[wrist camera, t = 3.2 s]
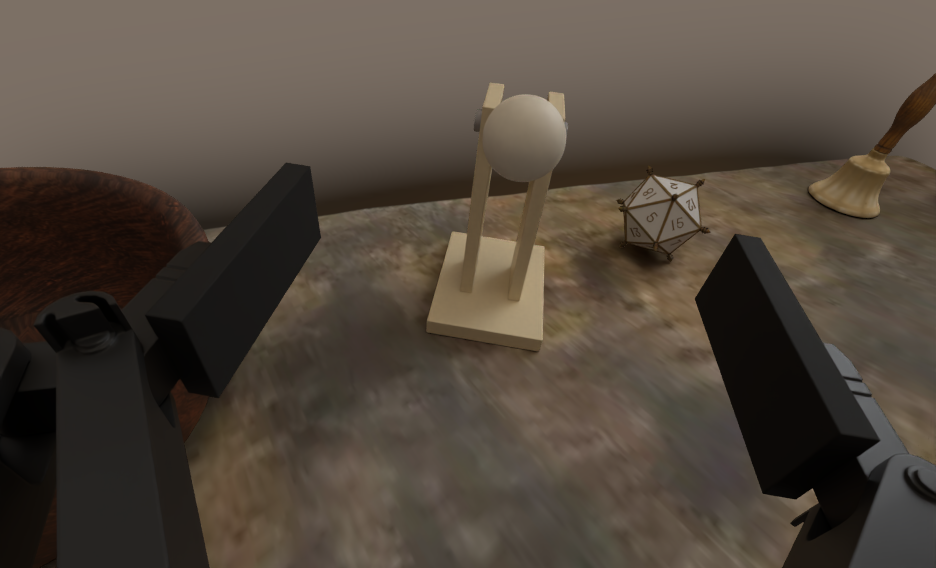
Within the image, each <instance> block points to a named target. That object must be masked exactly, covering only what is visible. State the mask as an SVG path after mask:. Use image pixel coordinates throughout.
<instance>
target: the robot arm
mask: <svg viewBox="0 0 936 568" xmlns="http://www.w3.org/2000/svg"><path fill="white" fill-rule="evenodd" d="M320 238H321V235H320V229H319V222H318V215H317V209H316V203H315V196H314V189H313V182H312V176H311V169H310V166H304V165H298V164H291V163H285V164H284V165H283V167H282V168H281V169H280V170H279V171H278V172H277V173H276V174H275V175H274V176H273V177H272V178H271V179H270V180H269V182H268V183H267V184H266V185H265V186H264V187H263V188H262V189H261V190H260V191H259V192H258V194H256V196H255V197H254V198H253V199H252V200H251V201H250V202H249V203H248V204H247V205H246V206H245V207H244V208H243V210H242V211H241V212H240V213H239V214H238V215H237V216H236V217H235V218H234V219H233V220H232V221H231V223H230V224H229V225H228V226H227V227H226V228H225V229H224V230H223V231H222V232H221V233H220V234H219V235H218V236H217V237H216V239H215V240H214V241H213V242H212V243H210V242H203V241H197V242H195V243H194V244H192V245H190V246H188V247H186V248H185V249H183V250H181V251H179V252H178V253H177V254H176V255H175V256H174V257H173V258H172V259H171V260H170V261H169V262H168V263H167V264H166V265H167V266H166V267H163V268H162V269H161V270H160V271H159V272H158V273H157V274H156V277H155V278H152V279H151V280H150V281H149V282H148V283H147V284H146V285H145V286H144V287H143V288H142V289H141V290H140V291H139V292H138V294H137V295H136V296H135V297H134V298H133V299H132V300H131V301H130V302H129V303H128V304H127V305H126V306H125V307H124V308H123V309H122V310H121V309H120V307H119V306H118V304H117V302H116V301H115V299H114V297H113V296H112V295H110V294H107V293H105V292H102V291H85V292H78V293H74V294H71V295H68V296H65V297H63V298H60V299H58V300H56V301H55V302H53V303H51V304H50V305H48V306H46V307H45V308H44V309H43V310H42V311H41V312H40V313H39V314H38V315H37V317H36V320H35V323H34V325H33V326H34V327H35V328H36V329H37V331H38V332H39V333H40V334H41V335H42V337H43V338H44V339H45V340H46V341H41V342H30V343H22V342H21V341H20V340H19V339H18V337H17V336H16V335H15V334H14V333H13V332H12V331H11V330H7V329H4V328H0V568H32V567H33V563H34V560H35V557H36V554H37V550H38V547H39V544H40V540H41V537H42V534H43V530H44V527H45V524H46V521H47V517H48V514H49V511H50V507H51V504H52V501H53V497H54V494H55V491H56V489H57V568H210V567H209V562H208V557H207V553H206V548H205V543H204V538H203V533H202V528H201V524H200V519H199V514H198V509H197V504H196V499H195V494H194V490H193V485H192V480H191V475H190V470H189V465H188V461H187V456H186V451H185V446H184V441H183V436H182V432H181V427H180V422H179V417H178V412H177V407H176V402H175V398H174V397H173V395H172V393H171V390H172V389H173V388H174V386H175V385H176V384H177V382H178V381H179V380H180V379H181V381H182V382H183V384H184V386H185V388H186V390H187V391H188V393H193V394H199V395H205V396H210V397H216V398H219V397H220V395H221V394H222V392H223V390H224V389H225V387H226V386H227V384H228V383H229V381H230V379H231V378H232V376H233V375H234V373H235V372H236V370H237V368H238V367H239V365H240V364H241V362H242V361H243V359H244V357H245V356H246V354H247V353H248V351H249V350H250V348H251V347H252V345H253V343H254V342H255V340H256V339H257V337H258V336H259V334H260V332H261V331H262V329H263V328H264V326H265V325H266V323H267V321H268V320H269V318H270V317H271V315H272V314H273V312H274V310H275V309H276V307H277V306H278V304H279V303H280V301H281V299H282V298H283V296H284V295H285V293H286V292H287V290H288V288H289V287H290V285H291V284H292V282H293V281H294V279H295V277H296V276H297V274H298V273H299V271H300V270H301V268H302V266H303V265H304V263H305V262H306V260H307V259H308V257H309V255H310V254H311V252H312V251H313V249H314V248H315V246H316V245H317V243H318V241H319V240H320ZM695 301H696V304H697V307H698V310H699V312H700V315H701V318H702V321H703V324H704V327H705V330H706V332H707V335H708V338H709V341H710V344H711V347H712V350H713V352H714V355H715V358H716V361H717V364H718V367H719V370H720V373H721V375H722V378H723V381H724V384H725V387H726V390H727V393H728V395H729V398H730V401H731V404H732V407H733V410H734V413H735V415H736V418H737V421H738V424H739V427H740V430H741V433H742V435H743V438H744V441H745V444H746V447H747V450H748V453H749V455H750V458H751V461H752V464H753V467H754V470H755V473H756V475H757V478H758V481H759V484H760V487H761V490H762V493H763V494H768V495H773V496H779V497H785V498H790V499H797V498H799V497H800V496H802V495H803V494H805V493H806V492H807V491H809V490H810V489H812V488H813V490H814V492H815V495H816V497H817V499H818V501H819V503H818V504H816V505H815V506H813V507H812V508H810V509H809V510H807V511H806V512H804V513H802V514H801V515H799V516H798V517H796V518H795V519H794V520H793V521H792V522H791V523H790V524H792V525H793V526H794V527H796V526H797V525H799V524H801V523H802V522H804V524H803V526H802V528H801V530H800V532H799V534H798V536H797V538H796V540H795V542H794V544H793V546H792V548H791V551H790V553H789V555H788V557H787V559H786V561H785V563H784V565H783V567H782V568H936V466H935V465H934V464H932V463H930V462H928V461H926V460H924V459H922V458H920V457H918V456H914V455H911V454H909V453H908V451H907V449H906V448H905V446H904V445H903V443H902V441H901V440H900V438H899V437H898V435H897V434H896V432H895V430H894V429H893V427H892V426H891V424H890V422H889V421H888V419H887V418H886V416H885V414H884V413H883V411H882V410H881V408H880V406H879V405H878V403H877V402H876V400H875V399H874V398H872V397H871V395H872V394H871V392H870V391H869V389H868V387H867V386H866V384H865V383H862V380H863V379H862V378H861V376H860V375H859V373H858V372H857V370H856V368H855V367H854V365H853V364H852V362H851V361H850V360H849V359H848V358H847V357H846V356H845V355H844V354H843V353H842V352H841V351H840V350H839V349H837V348H836V347H835V346H834V345H833V344H828V343H823V342H822V341H821V339H820V337H819V336H818V334H817V332H816V331H815V329H814V327H813V326H812V324H811V322H810V320H809V319H808V317H807V315H806V314H805V312H804V310H803V309H802V307H801V305H800V304H799V302H798V300H797V299H796V297H795V295H794V293H793V292H792V290H791V288H790V287H789V285H788V283H787V282H786V280H785V278H784V277H783V275H782V273H781V272H780V270H779V268H778V267H777V265H776V263H775V261H774V260H773V258H772V256H771V255H770V253H769V251H768V250H767V248H766V246H765V245H764V243H763V241H762V240H761V238H758V237H751V236H745V235H739V234H735V235H734V236H733V238H732V240H731V241H730V243H729V244H728V246H727V248H726V249H725V251H724V252H723V254H722V256H721V257H720V259H719V261H718V262H717V264H716V265H715V267H714V269H713V270H712V272H711V273H710V275H709V277H708V278H707V280H706V281H705V283H704V285H703V286H702V288H701V290H700V291H699V293H698V294H697V296H696V298H695Z"/></svg>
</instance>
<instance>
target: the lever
mask: <svg viewBox="0 0 936 568" xmlns="http://www.w3.org/2000/svg"><path fill="white" fill-rule="evenodd" d="M482 141H483V150H484V153H485V156H486V158H487V161H488V162H489V164H490V165H491V167H492V168H493V169H494V170H495V171H496V172H497V173H498V174H500V175H501V176H503V177H505V178H507V179H509V180H512V181H517V182H528V181H533V180H537V179H539V178H541V177H543V176H545V175H546V174H548V173H549V172H550V171H551V170H552V169H553V168H554V167H555V166H556V165H557V163H558V162H559V161H560V159H561V157H562V155H563V152H564V149H565V145H566V128H565V124H564V121H563V118H562V116H561V115H560V113H559V111H558V110H557V109H556V108H555V107H554V106H553V105H552V104H551V103H550V102H549V101H547V100H545V99H543V98H541V97H539V96H535V95H527V94H523V95H517V96H513V97H510V98H508V99H506V100H504V101H503V102H501V103H500V104H499V105H498V106H497V107H495V109H494V110H493V111H492V112H491V114H490V115H489V117H488V119H487V121H486V123H485V126H484V130H483V138H482Z"/></svg>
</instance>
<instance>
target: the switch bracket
mask: <svg viewBox="0 0 936 568" xmlns="http://www.w3.org/2000/svg"><path fill="white" fill-rule="evenodd" d="M503 92H504V85H503V84H496V83H490V84H489V88H488V91H487V94H486V98H485V101H484V104H483V108H482V110H481V109H477V111H476V116H475V123H474V131H476V132H479V140H478V149H477V156H476V165H475V173H474V181H473V190H472V197H471V205H470V213H469V222H468V230H467V234H465V233H459V232H452V234H451V237H450V241H449V244H448V248H447V251H446V255H445V259H444V262H443V266H442V269H441V273H440V276H439V280H438V283H437V287H436V290H435V294H434V297H433V301H432V305H431V308H430V312H429V315H428V319H427V328H426V332H428V333H433V334H439V335H445V336H451V337H456V338H462V339H468V340H474V341H480V342H485V343H491V344H497V345H503V346H509V347H514V348H520V349H526V350H532V351H537V352H539V350H540V347H541V344H542V341H543V294H544V246H538V245H534V242H535V238H536V234H537V230H538V226H539V222H540V218H541V214H542V210H543V206H544V202H545V198H546V194H547V190H548V186H549V182H550V178H551V174H552V170H553V169H552V170H551V171H550V172H549V173H548V174H546V175H545V176H543V177H541V178H539V179H537V180H533V181H529V186H528V191H527V195H526V200H525V204H524V209H523V214H522V218H521V223H520V227H519V232H518V236H517V241H516V242H514V241H508V240H501V239H495V238H489V237H483V236H482V231H483V225H484V218H485V211H486V205H487V198H488V191H489V185H490V178H491V172H492V167H491V165H490V164H489V162H488V161H487V158H486V156H485V153H484V150H483V141H482V138H483V130H484V126H485V123H486V121H487V119H488V117H489V115H490V114H491V112H492V111H493V110H494V109H495V107H497V106H498V105H499V104H500V103H501V102H502V99H503ZM547 101H549V102H550V103H551V104H552V105H553V106H554V107H555V108H556V109H557V110H558V111H559V113H560V115H561V116H562V118H563V121H564V124H565V128H566V135H567V130H568V123H565V107H564V94H562V93H556V92H549V95H548V99H547Z"/></svg>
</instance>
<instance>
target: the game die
mask: <svg viewBox="0 0 936 568" xmlns="http://www.w3.org/2000/svg"><path fill="white" fill-rule="evenodd" d="M652 172H653V171H652V168H651V167H650V166H648V169H647V173H648V174H649V176H648V177H647V178H646V179H645V180H644V181H643V182H642V183H641V184H640V185H639V186H638V187H637V188H636V189H635V190H634V191H633V192H632V194H631V195H630V196H629V197H628V198H627V199H626V200H625V201H624V200H623V199H618V200H617V202H618V203H619V204H623V206H620V207H619V208H618V209H619V210H620V211H621V212H622V211H623V213H624V229H625V241H624V242H622V243H620V247H619V248H622V247H624V246H626V244H627V243H628V244H632V245H636V246H639V247H643V248H647V249H650V250H654V251H657V252H661V253H665V254H668V255H667V259H668V260H669V261H670V262H671V261H672V259H673V257H672V256H673V255H671V253H672V252H673V251H674V250H676V249H677V248H678V247H680V246H681V245H682V244H683V243H685V242H686V241H687V240H689V239H690V238H691V237H692V236H694V235H695V234H696V233H697V232H699V231H701V232H702V233H704V234H705V233H710V231H709V230H708V228H705V227H704V228H702V225H701V215H700V205H699V195H698V187H699V186H701V185H702V184H703V183H704V181H705V179H703V180H699V181H698V182H697V184H695V185H694V184H690V183H686V182H682V181H678V180H674V179H670V178H666V177H661V176H657V175H653V174H652Z"/></svg>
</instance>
